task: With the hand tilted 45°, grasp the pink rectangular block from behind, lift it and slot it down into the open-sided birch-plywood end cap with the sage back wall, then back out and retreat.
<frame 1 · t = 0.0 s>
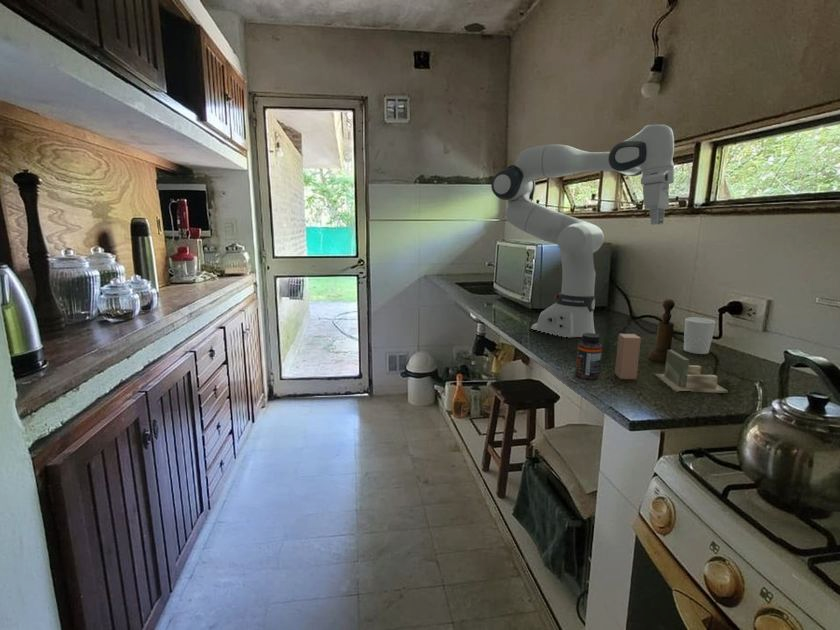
hand: (657, 224, 138), 39 cm above the worktop, tool pointing down, fingers open, 8 cm apart
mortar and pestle: (661, 360, 129), on the worktop
supplement bottle: (587, 376, 115), on the worktop
white cup: (695, 351, 137), on the worktop
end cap: (689, 383, 110), on the worktop
pink rectangular block: (625, 376, 115), on the worktop
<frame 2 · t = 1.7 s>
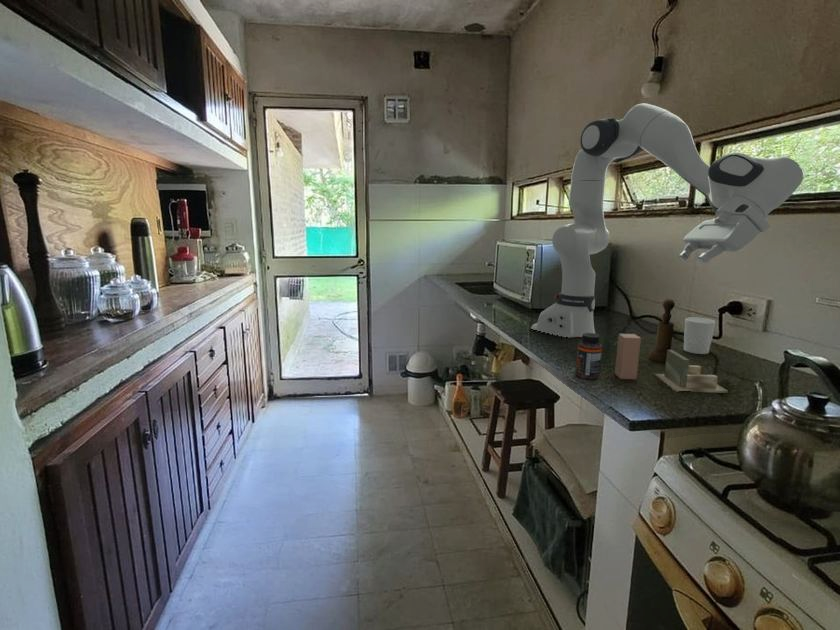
hand: (690, 259, 108), 31 cm above the worktop, tool tilted 45°, fingers open, 8 cm apart
nothing on the worktop moved.
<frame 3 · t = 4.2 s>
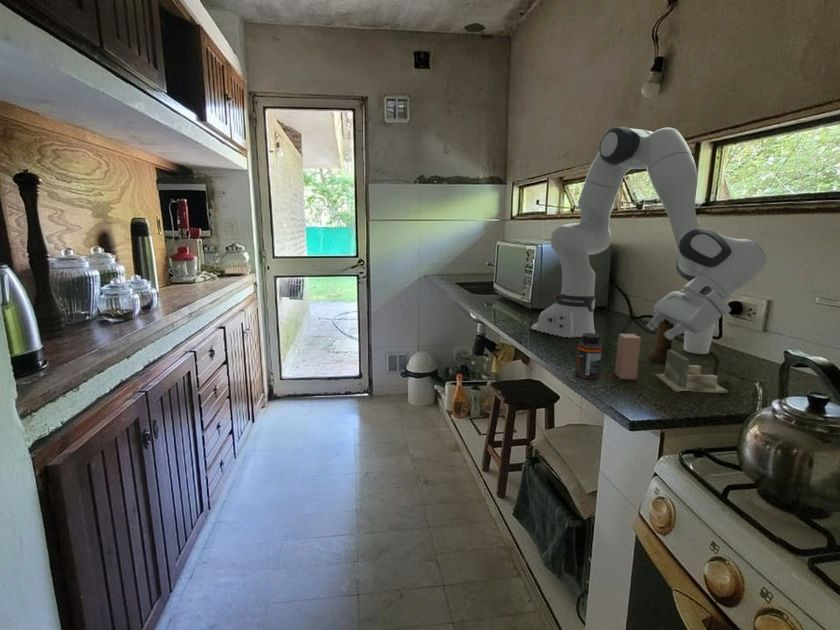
hand: (657, 332, 112), 12 cm above the worktop, tool tilted 45°, fingers open, 8 cm apart
nothing on the worktop moved.
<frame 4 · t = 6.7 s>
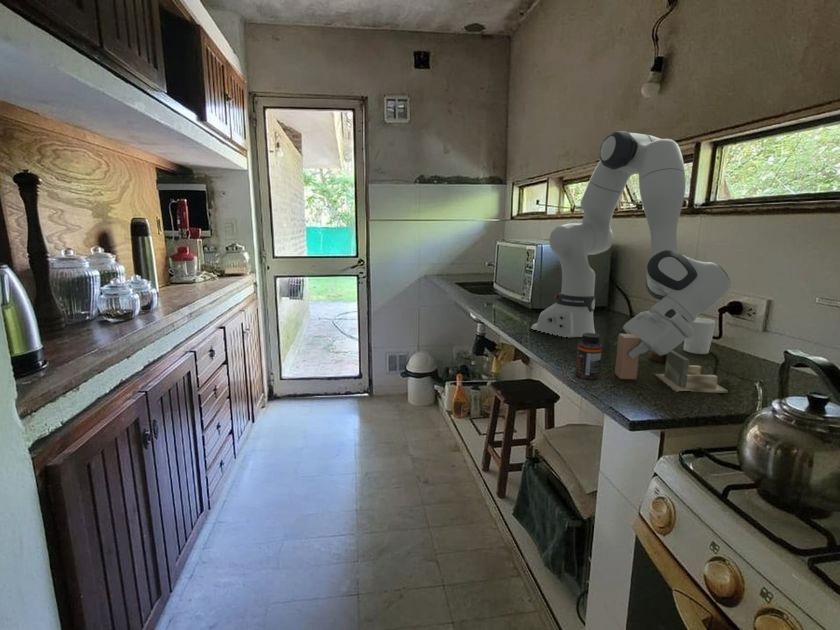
hand: (625, 352, 114), 6 cm above the worktop, tool tilted 45°, fingers closed on pink rectangular block, 4 cm apart
pink rectangular block: (625, 376, 115), on the worktop, touching gripper
everything else where it was.
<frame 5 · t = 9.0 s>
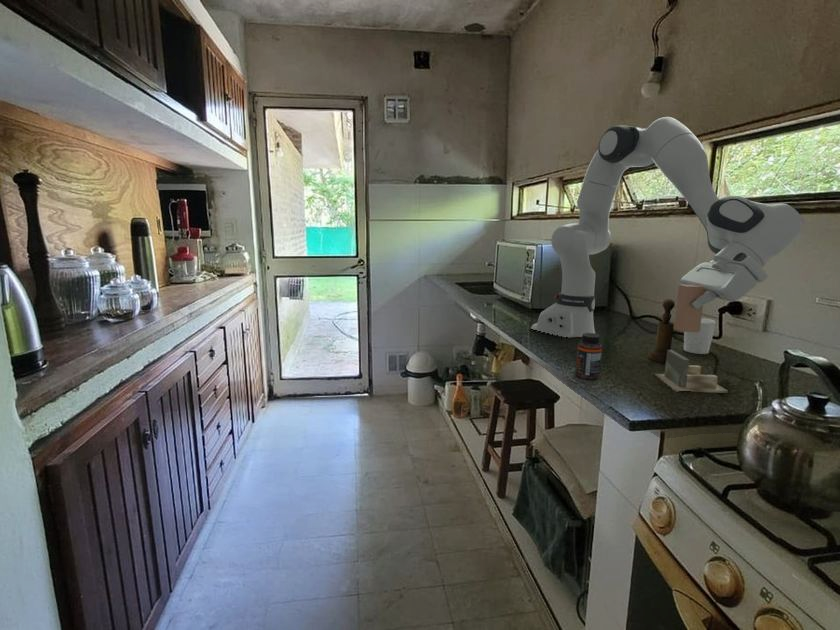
hand: (687, 304, 106), 20 cm above the worktop, tool tilted 45°, fingers closed on pink rectangular block, 4 cm apart
pink rectangular block: (686, 330, 107), point 14 cm above the worktop, touching gripper
everything else where it was.
when the fingers open (8 cm above the worktop, at t = 11.7 s): pink rectangular block drops 1 cm, resting on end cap.
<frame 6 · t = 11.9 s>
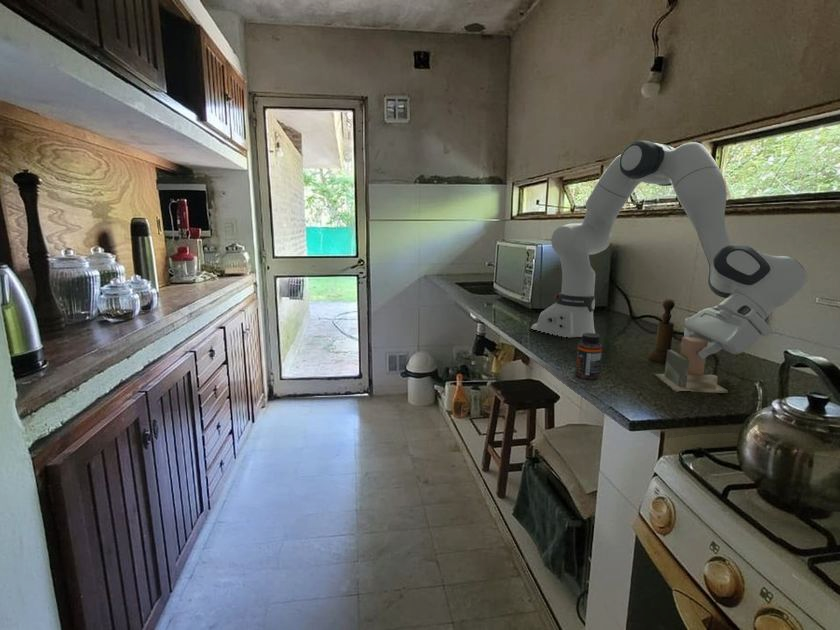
hand: (690, 351, 108), 8 cm above the worktop, tool tilted 45°, fingers open, 6 cm apart
pink rectangular block: (689, 381, 110), point 1 cm above the worktop, touching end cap
everything else where it was.
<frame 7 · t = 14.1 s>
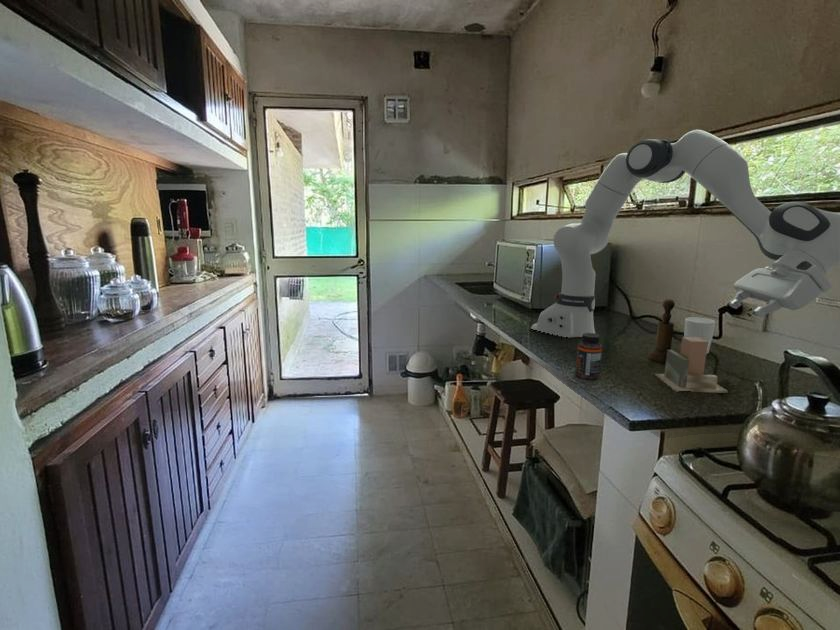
hand: (743, 310, 106), 19 cm above the worktop, tool tilted 45°, fingers open, 8 cm apart
nothing on the worktop moved.
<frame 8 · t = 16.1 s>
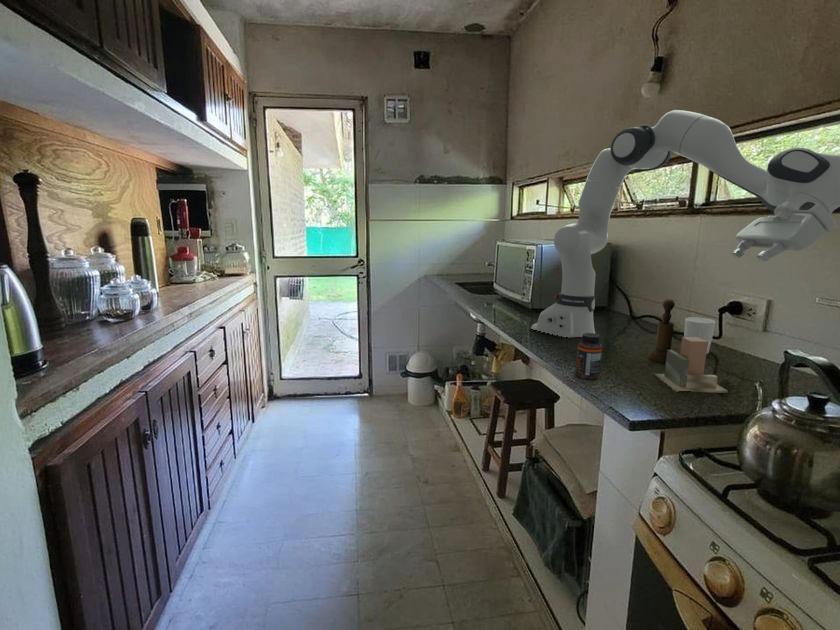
hand: (746, 257, 105), 31 cm above the worktop, tool tilted 45°, fingers open, 8 cm apart
nothing on the worktop moved.
at the end: pink rectangular block 0.1 cm off-centre on the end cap, point 0.5 cm above the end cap's base; pink rectangular block tilted 0°; the gripper is holding nothing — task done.
